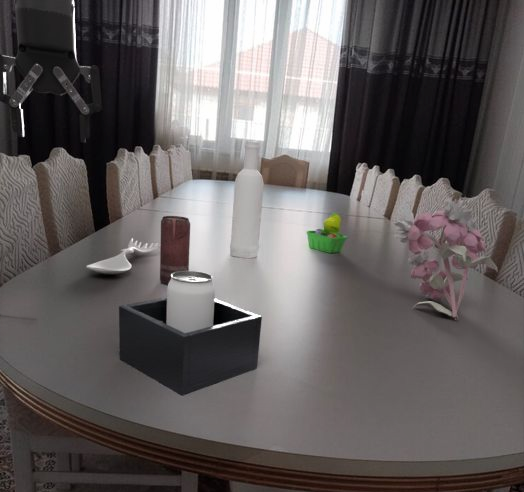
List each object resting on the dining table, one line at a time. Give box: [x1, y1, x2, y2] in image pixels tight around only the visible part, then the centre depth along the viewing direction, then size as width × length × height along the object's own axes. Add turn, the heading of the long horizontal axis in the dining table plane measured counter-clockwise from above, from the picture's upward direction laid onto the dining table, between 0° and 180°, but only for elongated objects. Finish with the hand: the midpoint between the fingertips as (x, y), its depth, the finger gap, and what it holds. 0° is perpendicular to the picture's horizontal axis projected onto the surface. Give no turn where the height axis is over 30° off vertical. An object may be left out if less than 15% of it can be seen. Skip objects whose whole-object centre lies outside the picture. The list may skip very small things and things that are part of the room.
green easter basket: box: [305, 212, 348, 254], centre depth 162 cm, size 11×9×11 cm
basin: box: [118, 296, 263, 396], centre depth 73 cm, size 14×14×8 cm
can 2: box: [166, 270, 216, 333], centre depth 72 cm, size 6×6×12 cm
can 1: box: [159, 215, 191, 286], centre depth 111 cm, size 6×6×14 cm
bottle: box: [229, 139, 265, 259], centre depth 140 cm, size 8×8×30 cm
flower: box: [392, 195, 499, 323], centre depth 111 cm, size 20×22×25 cm
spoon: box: [85, 237, 161, 275], centre depth 124 cm, size 9×32×4 cm, turn 173°
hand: (52, 139), depth 77 cm, fingers open, 8 cm apart
